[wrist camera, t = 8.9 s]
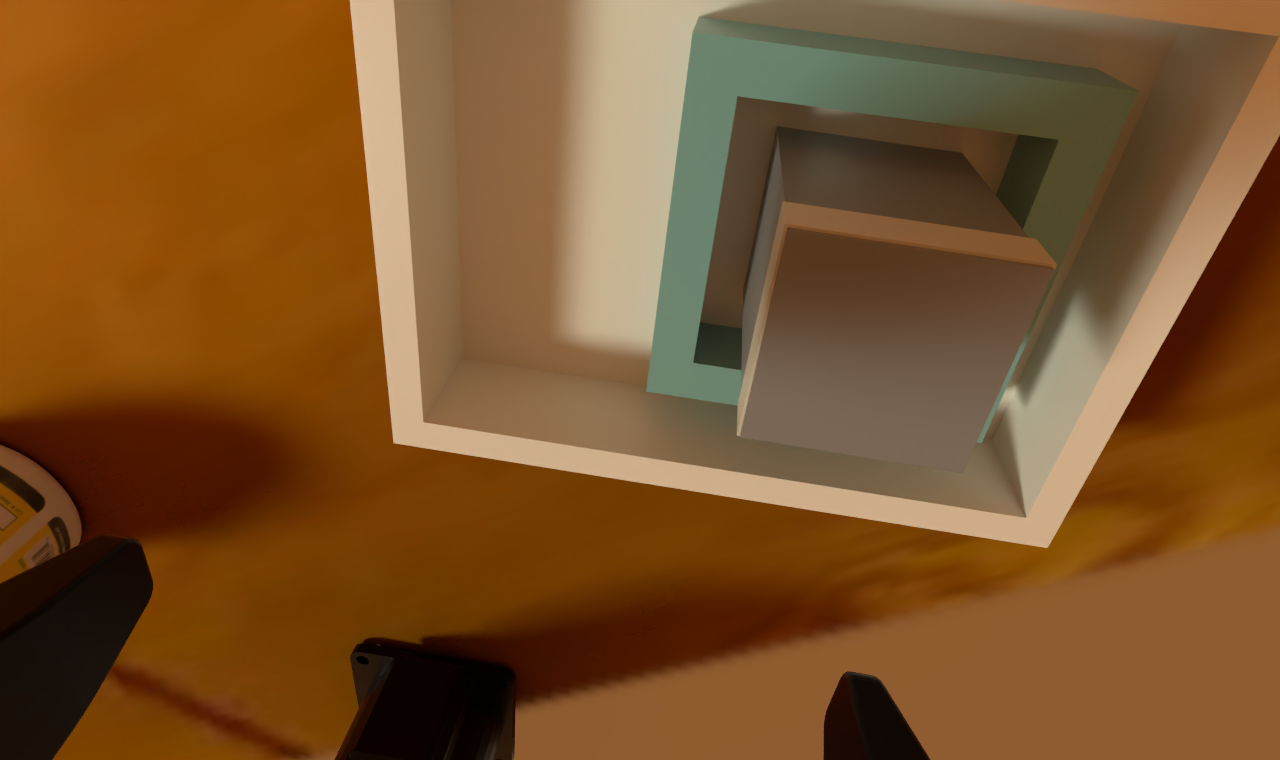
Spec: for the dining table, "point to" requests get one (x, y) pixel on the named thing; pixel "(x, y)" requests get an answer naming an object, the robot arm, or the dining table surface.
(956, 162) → the square block
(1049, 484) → the walled box
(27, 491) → the pill bottle
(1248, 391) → the dining table surface
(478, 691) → the robot arm
